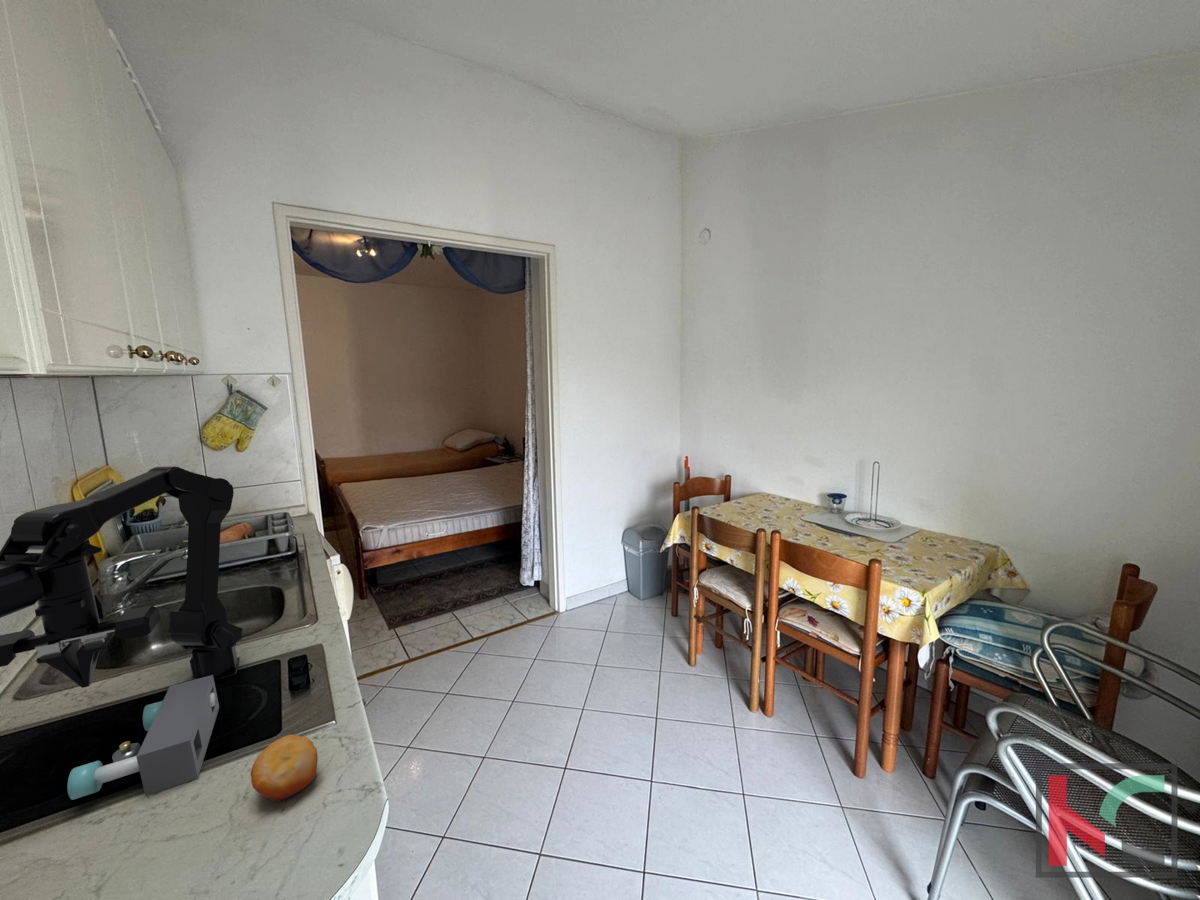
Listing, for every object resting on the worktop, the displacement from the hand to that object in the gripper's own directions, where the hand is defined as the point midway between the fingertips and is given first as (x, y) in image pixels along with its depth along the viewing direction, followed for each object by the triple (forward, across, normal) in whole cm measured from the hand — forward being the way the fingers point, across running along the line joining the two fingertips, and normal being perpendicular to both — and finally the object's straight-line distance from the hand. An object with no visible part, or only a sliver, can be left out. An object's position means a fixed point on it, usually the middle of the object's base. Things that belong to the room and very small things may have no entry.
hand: (87, 685), depth 78 cm
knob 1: (+11, -5, +11) cm, 16 cm away
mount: (+12, -12, +5) cm, 17 cm away
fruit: (+12, -26, +23) cm, 37 cm away
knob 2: (+11, -10, -1) cm, 15 cm away
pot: (+12, -4, +5) cm, 14 cm away
